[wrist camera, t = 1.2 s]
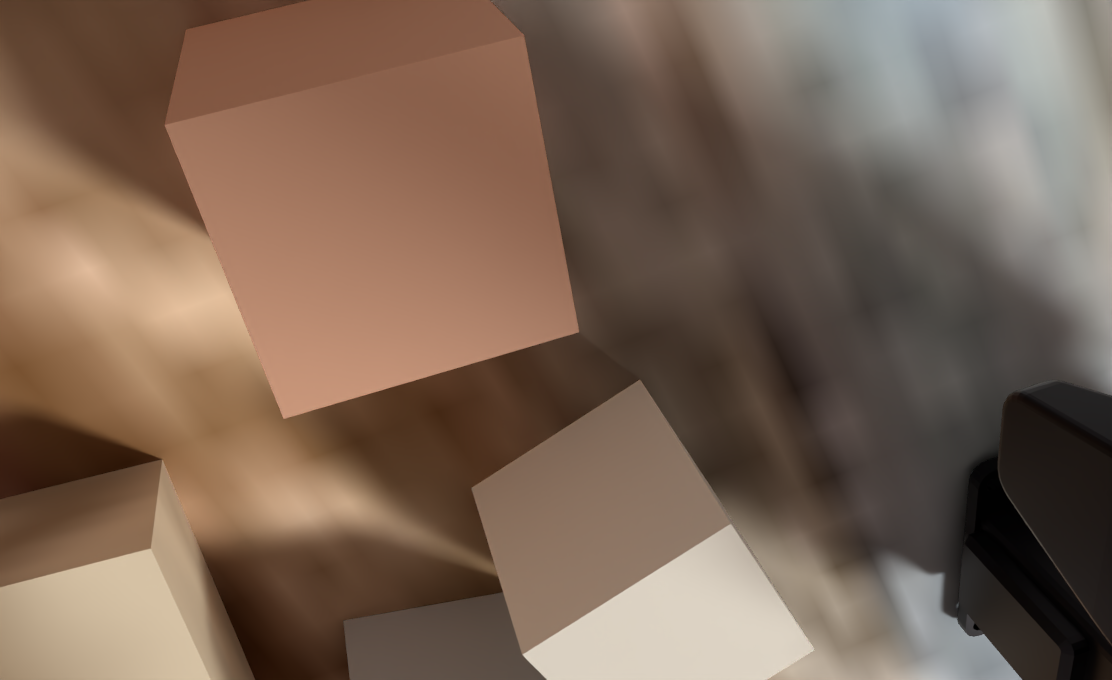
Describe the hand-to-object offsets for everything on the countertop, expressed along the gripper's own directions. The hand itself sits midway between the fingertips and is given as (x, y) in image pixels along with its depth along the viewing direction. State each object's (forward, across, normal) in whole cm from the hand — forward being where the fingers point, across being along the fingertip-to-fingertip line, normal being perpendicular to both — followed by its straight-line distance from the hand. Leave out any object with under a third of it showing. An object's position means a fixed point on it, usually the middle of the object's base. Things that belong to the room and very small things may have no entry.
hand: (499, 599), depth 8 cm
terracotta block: (+12, 0, 0) cm, 12 cm away
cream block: (+12, -3, +10) cm, 16 cm away
